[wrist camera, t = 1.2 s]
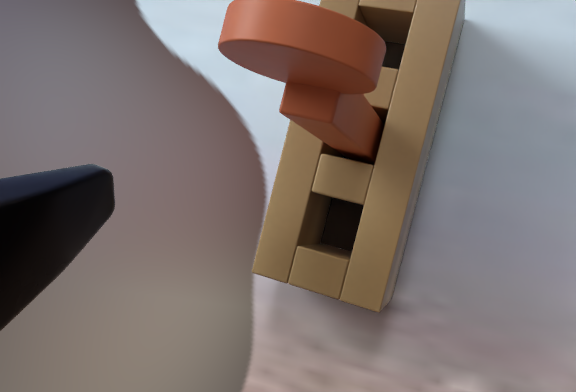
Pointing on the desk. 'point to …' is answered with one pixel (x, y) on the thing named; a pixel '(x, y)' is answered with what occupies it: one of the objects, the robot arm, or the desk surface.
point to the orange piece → (312, 68)
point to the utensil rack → (360, 176)
